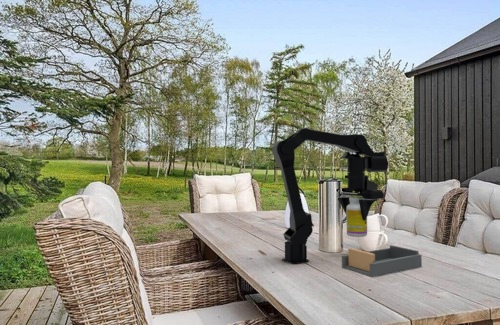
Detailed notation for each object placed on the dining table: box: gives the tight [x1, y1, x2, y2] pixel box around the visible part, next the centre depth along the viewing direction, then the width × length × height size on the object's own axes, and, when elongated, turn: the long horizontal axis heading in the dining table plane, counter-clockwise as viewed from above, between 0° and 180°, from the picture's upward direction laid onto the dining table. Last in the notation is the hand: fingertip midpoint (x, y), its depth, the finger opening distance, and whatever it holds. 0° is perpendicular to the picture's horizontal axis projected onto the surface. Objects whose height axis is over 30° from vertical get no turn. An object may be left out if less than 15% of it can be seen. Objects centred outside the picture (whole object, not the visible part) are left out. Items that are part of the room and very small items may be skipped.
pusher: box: [347, 247, 375, 272], centre depth 114 cm, size 1×9×5 cm, turn 30°
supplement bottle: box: [345, 196, 368, 238], centre depth 131 cm, size 7×7×13 cm
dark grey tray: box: [341, 244, 423, 278], centre depth 118 cm, size 21×12×5 cm, turn 120°
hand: (356, 219), depth 131 cm, fingers closed on supplement bottle, 7 cm apart
